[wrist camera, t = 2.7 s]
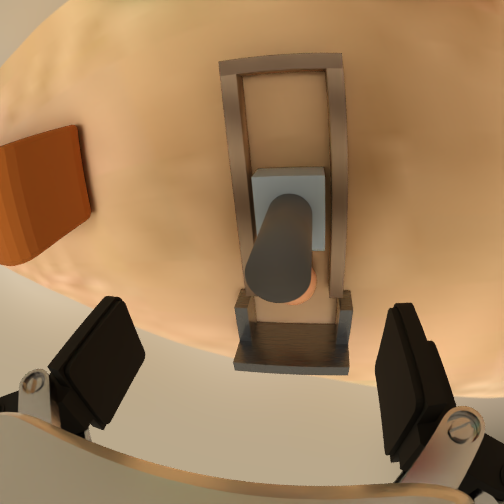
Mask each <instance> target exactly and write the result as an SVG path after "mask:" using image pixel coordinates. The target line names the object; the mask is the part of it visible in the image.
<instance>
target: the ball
mask: <svg viewBox="0 0 504 504" xmlns="http://www.w3.org/2000/svg"><path fill="white" fill-rule="evenodd" d="M316 284H317V279H316V274H315V272H314V270H313V268H312V270H311V282H310V285H309V288H308V289H307V291H306V292H305V293H304V294H303V295H302V296H301V297H299V298H298V299H296V300H294V301H291V302H286V304H289V305H297V304H301V303H303V302H305V301H307V300H308V299H309V298H310V297H311V296H312V295H313V293H314V291H315V289H316Z"/></svg>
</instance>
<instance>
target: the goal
mask: <svg viewBox="0 0 504 504" xmlns="http://www.w3.org/2000/svg"><path fill="white" fill-rule="evenodd" d="M234 308H235V314H236V320H237V326H238V332H239V338H240V342H239V345H238V349H237V352H236V355H235V358H234V361H233V364H234V368H235V370H238V371H249V372H262V373H277V374H278V373H279V374H299V375H348V372H349V351H348V341H349V335H350V328H351V321H352V314H353V307H352V299H351V292H350V291H343V296H342V298H338V300H337V312H336V322H335V324H293V323H265V322H257V320H256V311H255V302H254V296H246V290H245V289H241V291H240V294H239V297H238V299H237V302H236V305H235V307H234Z"/></svg>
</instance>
